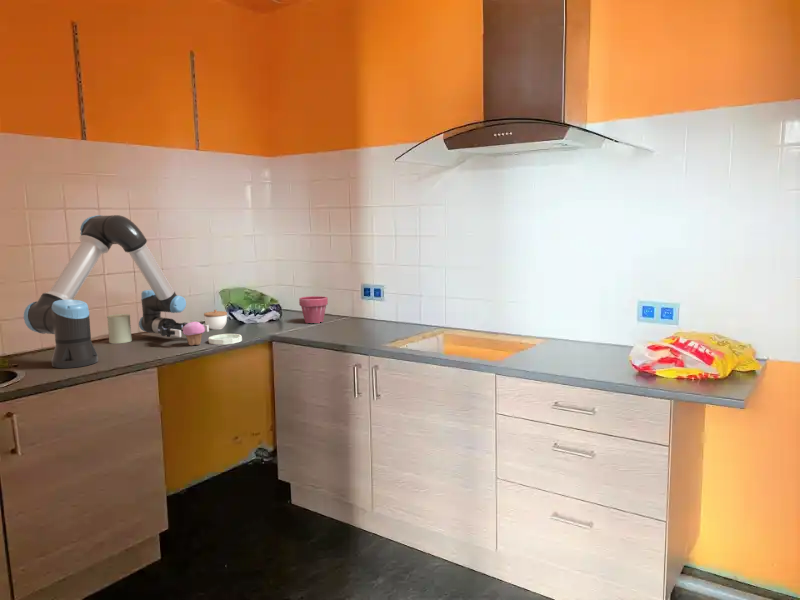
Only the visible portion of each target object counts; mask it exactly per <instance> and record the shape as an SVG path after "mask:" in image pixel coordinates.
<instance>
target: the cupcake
mask: <svg viewBox="0 0 800 600" xmlns="http://www.w3.org/2000/svg"><path fill="white" fill-rule="evenodd" d="M186 323H187V324H186V325H185V326H184V327H182V330H183V331H182V333H183V335H185V337H186V340H187V344H188V345H189V346H191V347H193V346H195V345H197V346H200V345H201V342H202V337H203V333H205V332H206V331H205V328H204V326H203V325H204V324H203V325H202V324H200V323H199V321H192V322H191V321H190V322H186Z"/></svg>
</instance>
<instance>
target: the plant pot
mask: <svg viewBox="0 0 800 600" xmlns="http://www.w3.org/2000/svg"><path fill="white" fill-rule="evenodd" d="M298 299H299V302H298V303H299V306H300V307H301V311H302V316H303V319H304V323H305V324H308V323H318V324H321V323H320V322H323V323H324V320H325V319H324V318H325V316H326V315H325V314H326V308H327V305H328V303H329V302H328V301H329V300H328V297H327V296H320V295H316V296H315V295H313V296H302V297H299V298H298Z"/></svg>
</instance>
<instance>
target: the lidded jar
mask: <svg viewBox="0 0 800 600" xmlns="http://www.w3.org/2000/svg"><path fill="white" fill-rule="evenodd" d="M227 315H228V312H227V311H223V310H217V309H213V311H207V312H204V313H203V317H204V322H205V325H209V330H213V331H215V330H217V331H218V330H222V329H224V327H225V326H226V324H227V322H228V321H227V320H228V316H227Z"/></svg>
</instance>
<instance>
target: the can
mask: <svg viewBox="0 0 800 600" xmlns="http://www.w3.org/2000/svg"><path fill="white" fill-rule="evenodd" d="M106 318H107V326H108V327H107V328H108V343H109V344H113V345H114V344H126V343H129V342H133V338H132V327H131V326H132V325H131V315H130V313H120V314H119V313H118V314H117V313H116V314H110V315H107V317H106Z"/></svg>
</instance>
